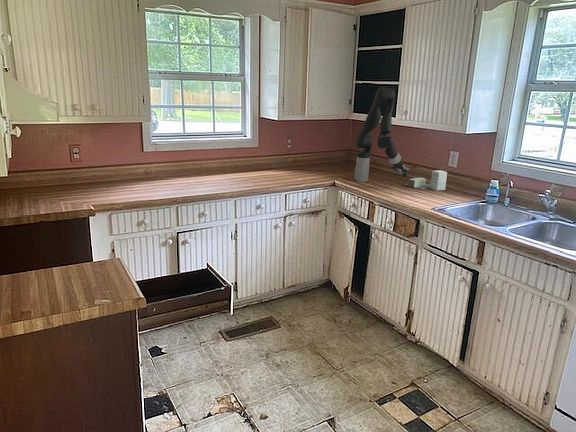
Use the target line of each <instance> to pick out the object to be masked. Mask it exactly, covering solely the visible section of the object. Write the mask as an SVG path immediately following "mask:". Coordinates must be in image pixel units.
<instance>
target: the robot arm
mask: <svg viewBox="0 0 576 432" xmlns="http://www.w3.org/2000/svg"><path fill="white" fill-rule="evenodd" d="M395 97H396V93H395V89H393V88H389V87H382V86H381V87H379V88H378V89H377V91H376V93H375V96H374V99H373V102H372V105H371V108H370V109H369V112H368V114H367V116H366V117H365V118H366V119H365V120H364V123H363V125H362V128H361V130H360V131H359V133H358V134H357V137H356V139H355V147H357V148H358V149H363V150H361V151H360V152H357V154H356V164H355V165H356V166H355V167H354V178H353V179H354V181H356V182H360V183H361V182H363V183H365V182H368V181H369V171H370V161H371V154H372V145H373V138H372V136H371V135H370V133H371V132H372V131H374V130H375V129H376V128H377V127H378V126H380V127H379V134H378V138H377V141H376V142H377V145H376V146H377V147H378V148H379V149H380V150H381V149H384V152H385V155H386V157H387V158H388V161H389V163H390V164H391V166H392V167H391V168H392V169H393V170H394V171H396V172H397V173H400V175H401V176H402V177H403V178H406V177H407V175H408V174H407V172H408V171H409V168H410V167H409V166H408V167H406V165H405V164H404V160H403V158H402V157H401V155H400V154H401V153H399V152H398V150H397V148H396V144H395V139H394V137H392V136H389V135H390V134H391V133H392V125H393V124H392V123H393V122H392V121H393V120H392V117H393V112H394V111H393V110H394V105H395ZM381 103H384V104H385V103H387V108H386V110H385V112H384V113H383V115H382V113H381V110H380V104H381ZM387 135H388V136H387Z"/></svg>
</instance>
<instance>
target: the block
mask: <svg viewBox="0 0 576 432" xmlns="http://www.w3.org/2000/svg"><path fill="white" fill-rule="evenodd" d="M426 181H427V178H424V177H415V178H414V177H413V178H409V179H408V183H407V184H408V186H407V187H410V188H414V189H416V188H415V187H420V186H425V182H426Z"/></svg>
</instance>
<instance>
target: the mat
mask: <svg viewBox="0 0 576 432" xmlns="http://www.w3.org/2000/svg"><path fill="white" fill-rule="evenodd" d="M403 186H406V187H409V186H408V183H404V184H403ZM414 189H418V190H419V189H420V190H427V189H431V188H430V185H429V184H425V186H420V187H415V188H414Z"/></svg>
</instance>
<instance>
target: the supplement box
mask: <svg viewBox="0 0 576 432" xmlns="http://www.w3.org/2000/svg"><path fill="white" fill-rule="evenodd" d="M447 177H448V172H447V171H445V170H441V169H440V170H437V169H436V170H432V171H431V179H430V181H431V185H430V188H429V189H431V190H434V191H445V190H446V186H447Z"/></svg>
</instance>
